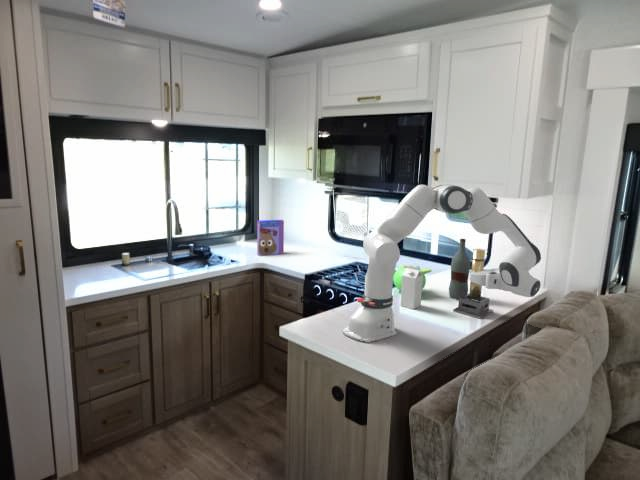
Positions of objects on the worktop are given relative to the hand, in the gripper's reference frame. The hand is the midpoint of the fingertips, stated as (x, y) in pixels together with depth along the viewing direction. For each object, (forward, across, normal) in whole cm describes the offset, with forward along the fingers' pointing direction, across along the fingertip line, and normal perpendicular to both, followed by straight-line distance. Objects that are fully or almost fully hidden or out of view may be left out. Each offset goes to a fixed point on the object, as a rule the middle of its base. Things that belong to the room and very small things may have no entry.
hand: (475, 271), depth 199 cm
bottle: (+17, -10, +19) cm, 28 cm away
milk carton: (+19, +20, +19) cm, 34 cm away
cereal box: (+144, +35, +19) cm, 150 cm away
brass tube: (-1, 0, +12) cm, 12 cm away
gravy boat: (+35, +7, +19) cm, 40 cm away
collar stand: (-1, 0, +19) cm, 19 cm away
